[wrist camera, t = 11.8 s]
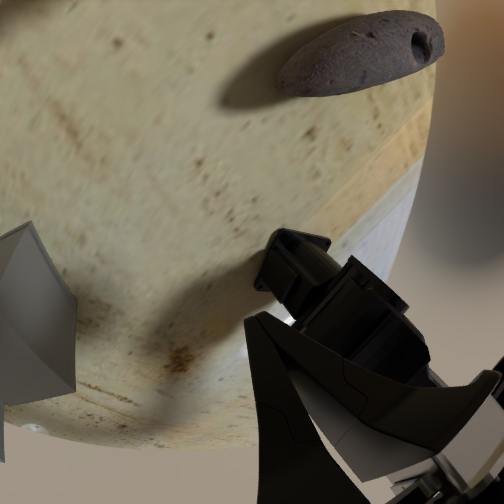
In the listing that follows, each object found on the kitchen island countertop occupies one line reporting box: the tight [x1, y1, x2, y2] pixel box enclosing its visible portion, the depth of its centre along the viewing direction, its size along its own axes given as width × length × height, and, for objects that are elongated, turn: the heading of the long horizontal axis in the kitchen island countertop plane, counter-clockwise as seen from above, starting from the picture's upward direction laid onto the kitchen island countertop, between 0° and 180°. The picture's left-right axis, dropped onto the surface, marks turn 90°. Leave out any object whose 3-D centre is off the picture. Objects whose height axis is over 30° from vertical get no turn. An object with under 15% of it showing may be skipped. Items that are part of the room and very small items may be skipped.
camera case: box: [0, 221, 77, 406], centre depth 13 cm, size 7×8×8 cm
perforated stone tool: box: [275, 10, 445, 97], centre depth 14 cm, size 15×5×7 cm, turn 117°
